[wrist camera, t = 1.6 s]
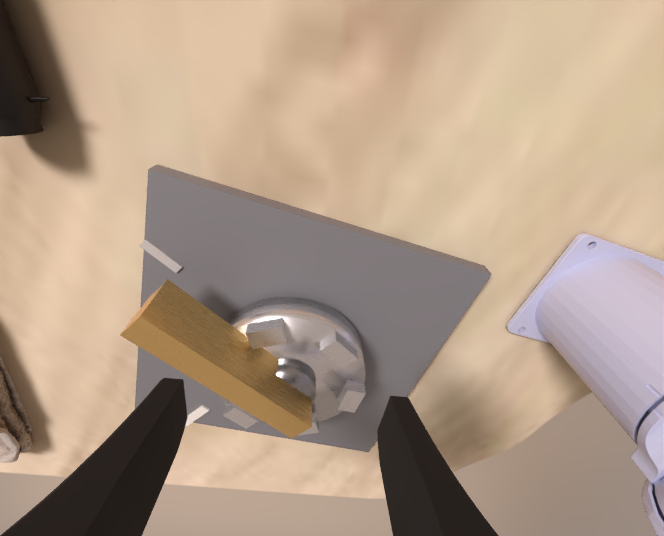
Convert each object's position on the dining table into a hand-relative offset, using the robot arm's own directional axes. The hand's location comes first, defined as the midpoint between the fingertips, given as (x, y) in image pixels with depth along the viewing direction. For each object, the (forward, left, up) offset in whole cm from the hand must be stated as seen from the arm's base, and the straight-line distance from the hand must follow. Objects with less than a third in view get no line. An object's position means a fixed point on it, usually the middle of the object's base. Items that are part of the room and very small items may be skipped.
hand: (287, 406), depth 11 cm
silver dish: (+1, +6, -9) cm, 11 cm away
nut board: (-1, +7, -10) cm, 13 cm away
